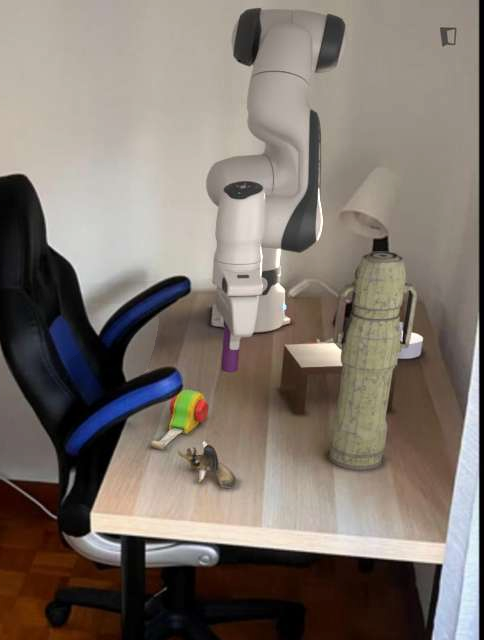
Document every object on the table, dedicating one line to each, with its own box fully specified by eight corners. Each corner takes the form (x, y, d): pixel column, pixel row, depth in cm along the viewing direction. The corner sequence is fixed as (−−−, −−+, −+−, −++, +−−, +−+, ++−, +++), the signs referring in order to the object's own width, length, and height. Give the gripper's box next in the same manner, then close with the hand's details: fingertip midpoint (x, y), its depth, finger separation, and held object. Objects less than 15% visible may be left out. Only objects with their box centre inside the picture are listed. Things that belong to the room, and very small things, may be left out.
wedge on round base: (356, 354, 213) (419, 360, 209) (360, 324, 210) (424, 330, 205) (360, 341, 220) (421, 347, 216) (364, 313, 217) (426, 317, 213)
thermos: (312, 449, 171) (335, 249, 155) (379, 446, 171) (409, 246, 155) (328, 471, 163) (354, 263, 147) (398, 468, 163) (431, 260, 147)
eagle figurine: (170, 474, 161) (212, 481, 155) (181, 432, 162) (225, 438, 155) (197, 485, 166) (239, 493, 160) (208, 445, 167) (251, 451, 160)
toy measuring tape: (217, 416, 185) (219, 384, 182) (171, 453, 171) (173, 419, 168) (186, 410, 188) (188, 378, 185) (139, 446, 174) (140, 412, 171)
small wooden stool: (280, 389, 196) (284, 344, 192) (369, 386, 196) (375, 341, 192) (296, 414, 185) (301, 367, 180) (391, 411, 185) (398, 364, 180)
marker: (218, 366, 192) (223, 307, 186) (236, 366, 192) (241, 307, 186) (222, 373, 189) (226, 313, 183) (240, 372, 189) (244, 312, 183)
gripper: (210, 260, 191) (206, 327, 197) (229, 289, 173) (224, 363, 179) (242, 259, 190) (237, 327, 197) (265, 288, 173) (258, 362, 179)
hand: (231, 344), depth 188 cm, fingers closed on marker, 3 cm apart
